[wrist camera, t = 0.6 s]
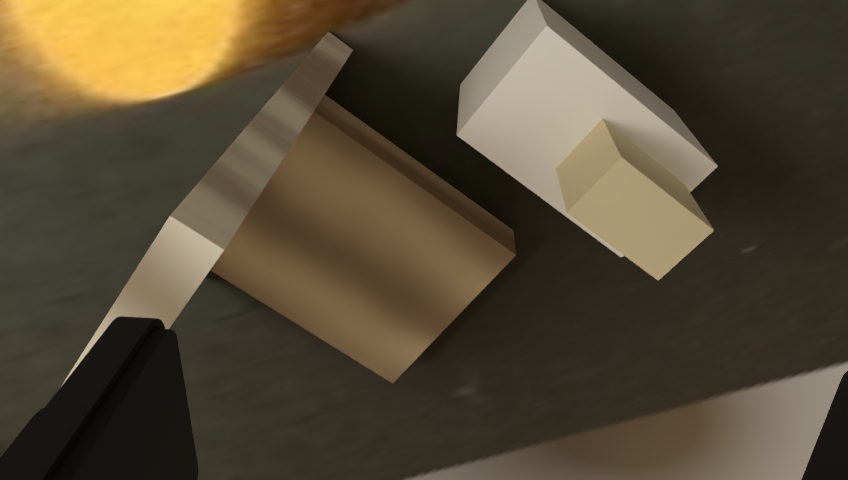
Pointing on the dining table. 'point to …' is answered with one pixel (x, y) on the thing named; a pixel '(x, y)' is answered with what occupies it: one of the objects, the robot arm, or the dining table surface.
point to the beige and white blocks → (587, 139)
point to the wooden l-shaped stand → (325, 231)
